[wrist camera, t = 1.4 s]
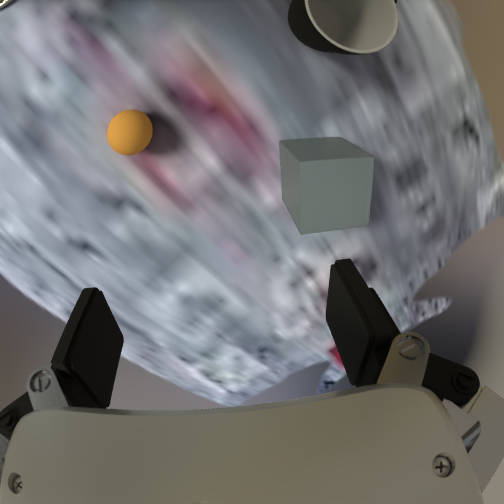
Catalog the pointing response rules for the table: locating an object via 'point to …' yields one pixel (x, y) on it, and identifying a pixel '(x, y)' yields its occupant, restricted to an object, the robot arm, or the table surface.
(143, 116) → the ball
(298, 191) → the grey rounded box
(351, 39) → the mug
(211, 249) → the table surface
